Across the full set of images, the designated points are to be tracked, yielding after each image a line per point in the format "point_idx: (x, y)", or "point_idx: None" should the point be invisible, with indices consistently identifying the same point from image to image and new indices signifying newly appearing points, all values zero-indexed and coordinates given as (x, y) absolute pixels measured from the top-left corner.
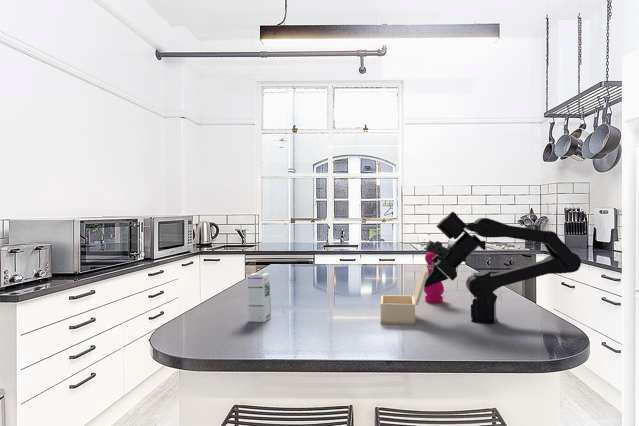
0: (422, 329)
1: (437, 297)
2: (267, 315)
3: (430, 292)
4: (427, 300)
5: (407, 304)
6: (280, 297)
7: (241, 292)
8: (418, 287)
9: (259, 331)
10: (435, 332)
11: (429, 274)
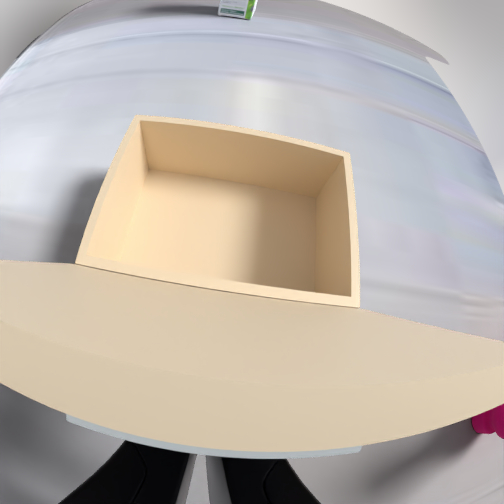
0: None
1: (486, 419)
2: (230, 9)
3: None
4: None
5: (87, 223)
6: (418, 69)
7: (423, 50)
8: (169, 294)
9: (155, 15)
10: None
11: (265, 469)
